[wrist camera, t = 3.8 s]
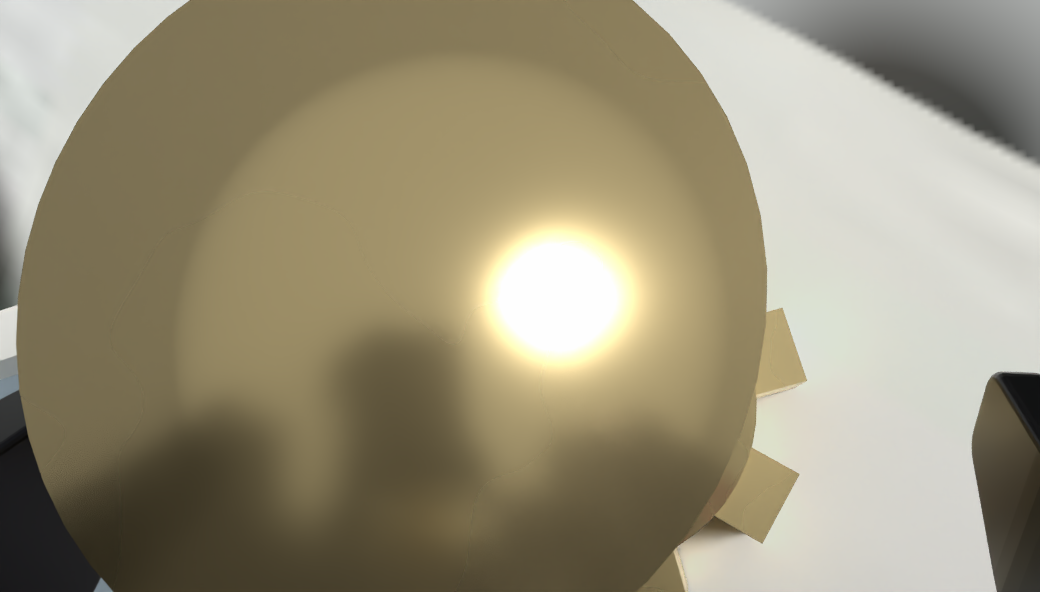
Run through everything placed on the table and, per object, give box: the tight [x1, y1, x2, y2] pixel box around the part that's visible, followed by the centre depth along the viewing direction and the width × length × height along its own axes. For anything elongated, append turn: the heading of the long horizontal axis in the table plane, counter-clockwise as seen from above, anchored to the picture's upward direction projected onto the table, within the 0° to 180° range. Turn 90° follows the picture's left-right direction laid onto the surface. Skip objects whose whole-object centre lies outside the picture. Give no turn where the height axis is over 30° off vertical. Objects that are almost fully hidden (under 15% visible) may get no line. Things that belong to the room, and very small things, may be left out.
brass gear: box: [16, 0, 807, 592], centre depth 11 cm, size 7×7×13 cm
